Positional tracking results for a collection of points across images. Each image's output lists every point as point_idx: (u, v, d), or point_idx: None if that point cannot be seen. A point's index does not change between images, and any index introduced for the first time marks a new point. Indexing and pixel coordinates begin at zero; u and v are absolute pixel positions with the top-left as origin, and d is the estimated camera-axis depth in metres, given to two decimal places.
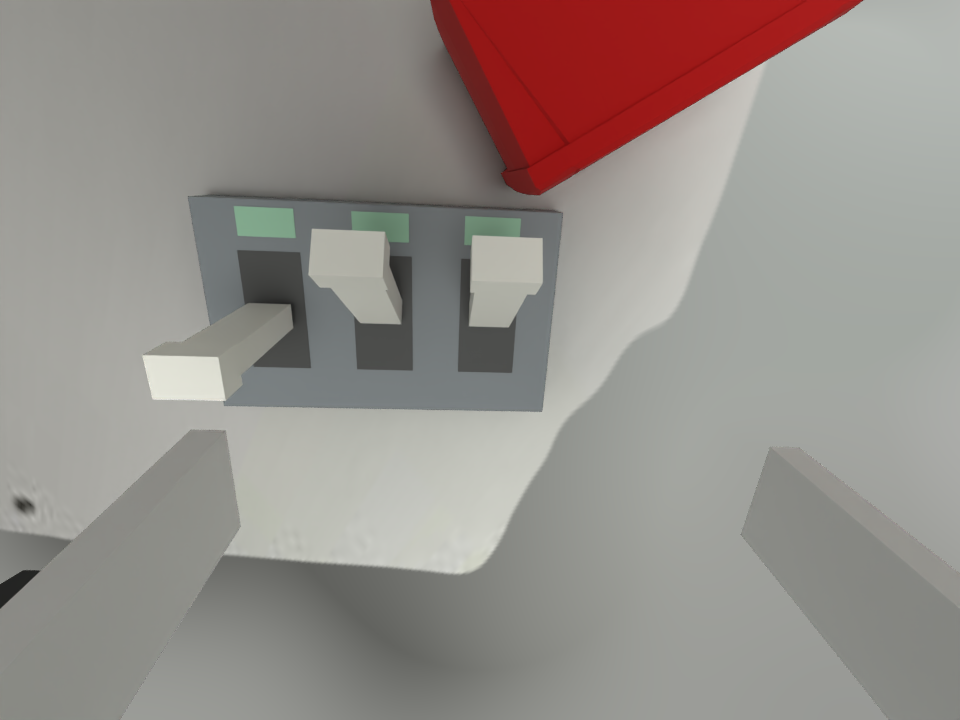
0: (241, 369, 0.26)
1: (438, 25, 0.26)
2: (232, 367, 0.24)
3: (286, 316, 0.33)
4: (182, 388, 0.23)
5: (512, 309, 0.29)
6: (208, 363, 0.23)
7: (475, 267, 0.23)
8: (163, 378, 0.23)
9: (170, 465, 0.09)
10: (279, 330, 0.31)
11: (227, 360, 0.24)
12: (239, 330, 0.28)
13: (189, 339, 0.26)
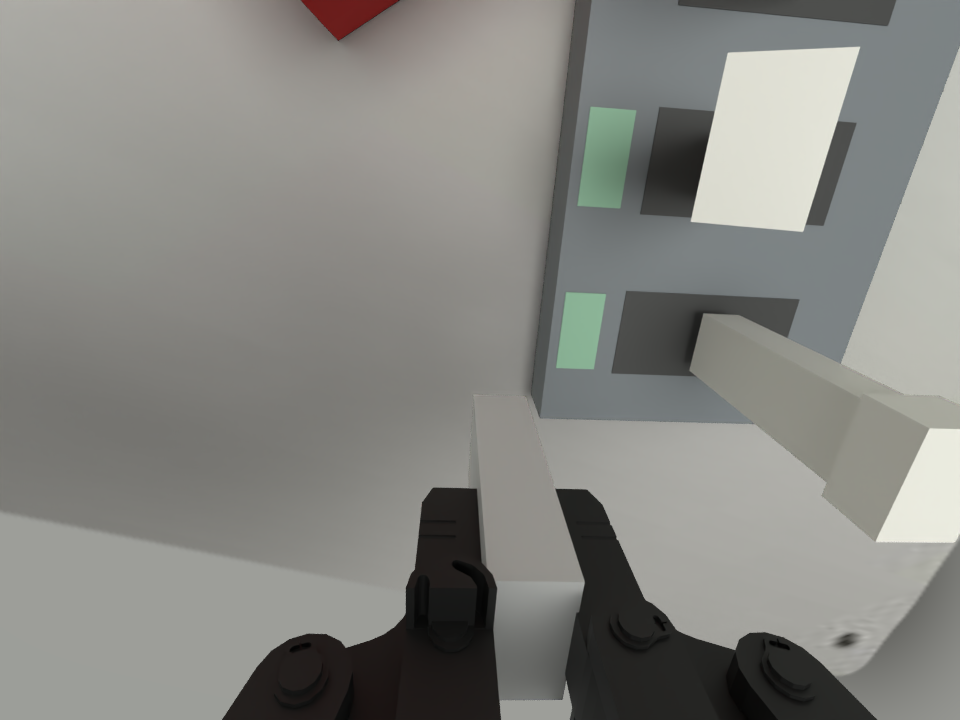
0: (893, 393, 0.14)
1: None
2: (922, 406, 0.13)
3: (727, 320, 0.21)
4: (958, 496, 0.12)
5: None
6: (933, 446, 0.12)
7: None
8: (926, 520, 0.13)
9: (488, 418, 0.12)
10: (761, 332, 0.20)
11: (917, 413, 0.12)
12: (786, 386, 0.17)
13: (805, 460, 0.16)
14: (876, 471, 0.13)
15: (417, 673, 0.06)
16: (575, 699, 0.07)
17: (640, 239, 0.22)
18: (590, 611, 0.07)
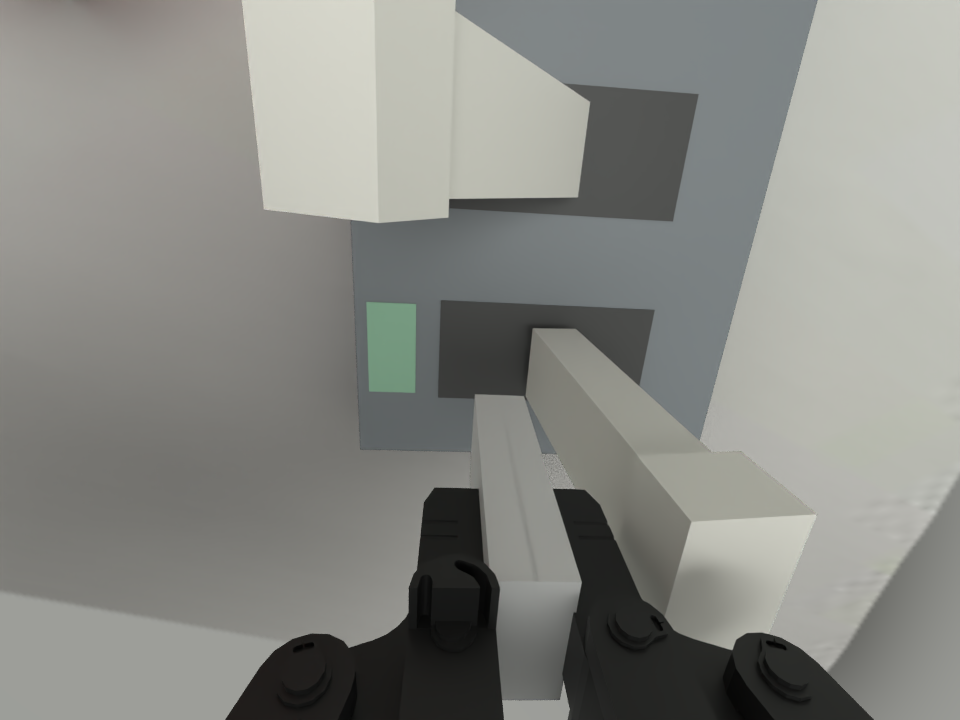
0: (692, 445, 0.11)
1: None
2: (705, 475, 0.09)
3: (555, 337, 0.17)
4: (752, 602, 0.09)
5: None
6: (703, 544, 0.08)
7: None
8: (715, 636, 0.09)
9: (489, 417, 0.12)
10: (584, 352, 0.16)
11: (691, 489, 0.08)
12: (587, 429, 0.13)
13: None
14: (648, 569, 0.09)
15: (420, 673, 0.06)
16: (572, 699, 0.07)
17: (449, 239, 0.18)
18: (587, 611, 0.07)
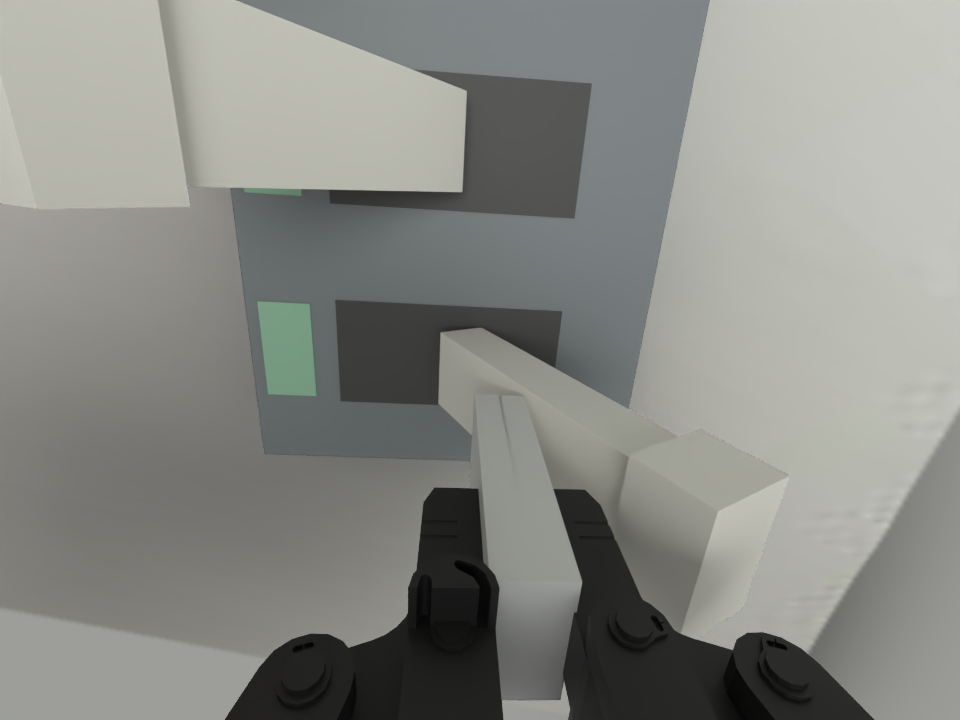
0: (655, 430, 0.11)
1: None
2: (694, 460, 0.10)
3: (468, 338, 0.17)
4: (744, 564, 0.10)
5: None
6: (722, 528, 0.08)
7: None
8: (719, 604, 0.10)
9: (489, 418, 0.12)
10: (506, 352, 0.16)
11: (695, 478, 0.09)
12: (542, 432, 0.13)
13: None
14: (661, 561, 0.09)
15: (419, 673, 0.06)
16: (573, 699, 0.07)
17: (339, 236, 0.17)
18: (588, 611, 0.07)
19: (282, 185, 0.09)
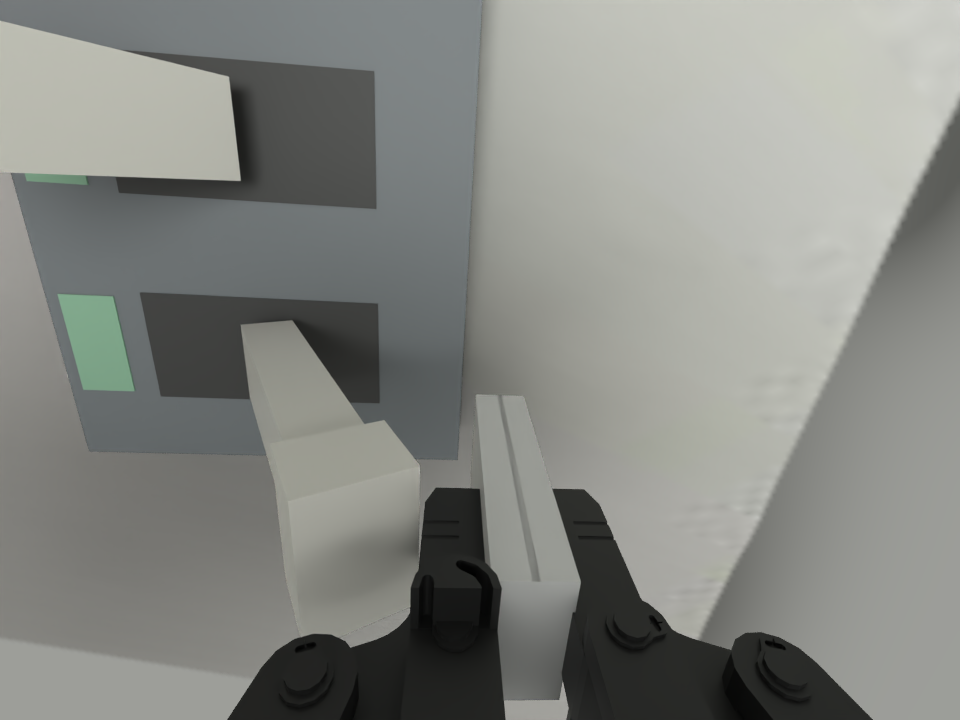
0: (349, 421, 0.11)
1: None
2: (333, 450, 0.09)
3: (262, 331, 0.17)
4: (389, 558, 0.09)
5: None
6: (311, 519, 0.08)
7: None
8: (363, 599, 0.09)
9: (490, 418, 0.12)
10: (287, 344, 0.15)
11: (308, 468, 0.09)
12: (269, 424, 0.12)
13: None
14: (289, 555, 0.09)
15: (421, 673, 0.06)
16: (571, 699, 0.07)
17: (134, 226, 0.17)
18: (586, 611, 0.07)
19: None
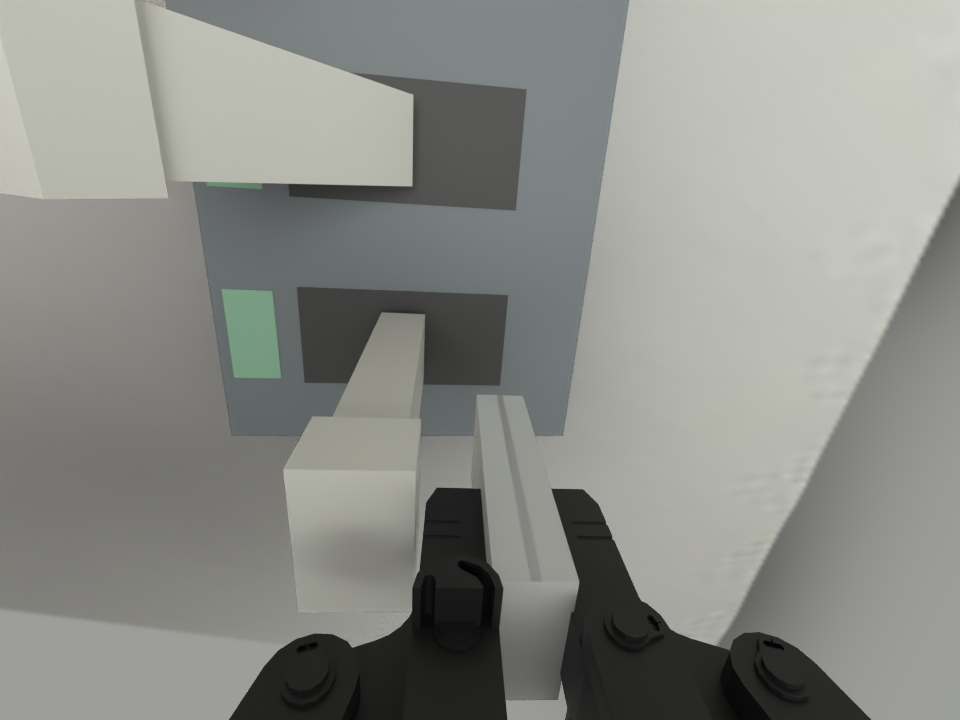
0: (398, 413, 0.11)
1: None
2: (354, 435, 0.10)
3: (393, 320, 0.18)
4: (382, 554, 0.09)
5: None
6: (304, 492, 0.09)
7: None
8: (355, 585, 0.10)
9: (491, 418, 0.12)
10: (404, 334, 0.17)
11: (322, 445, 0.09)
12: None
13: None
14: None
15: (423, 673, 0.06)
16: (570, 700, 0.07)
17: (299, 227, 0.19)
18: (585, 611, 0.07)
19: (246, 180, 0.11)
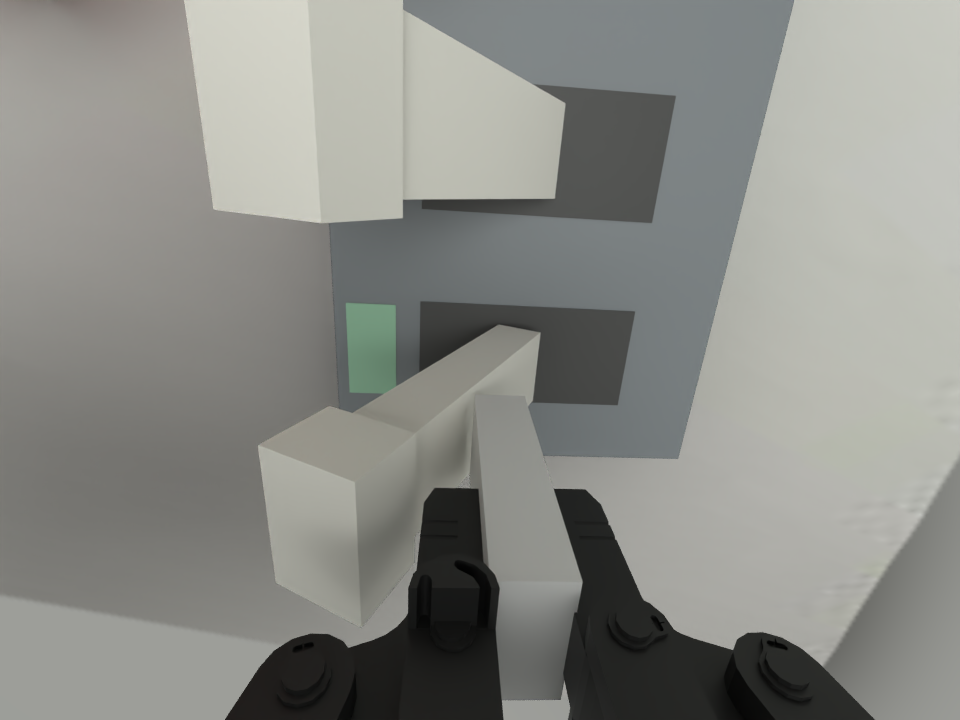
0: (412, 423, 0.11)
1: None
2: (342, 432, 0.10)
3: (502, 333, 0.18)
4: (333, 557, 0.09)
5: None
6: (272, 471, 0.09)
7: None
8: (314, 578, 0.10)
9: (489, 418, 0.12)
10: (498, 348, 0.16)
11: (307, 433, 0.10)
12: None
13: None
14: None
15: (419, 673, 0.06)
16: (573, 699, 0.07)
17: (428, 240, 0.18)
18: (588, 611, 0.07)
19: (449, 196, 0.10)
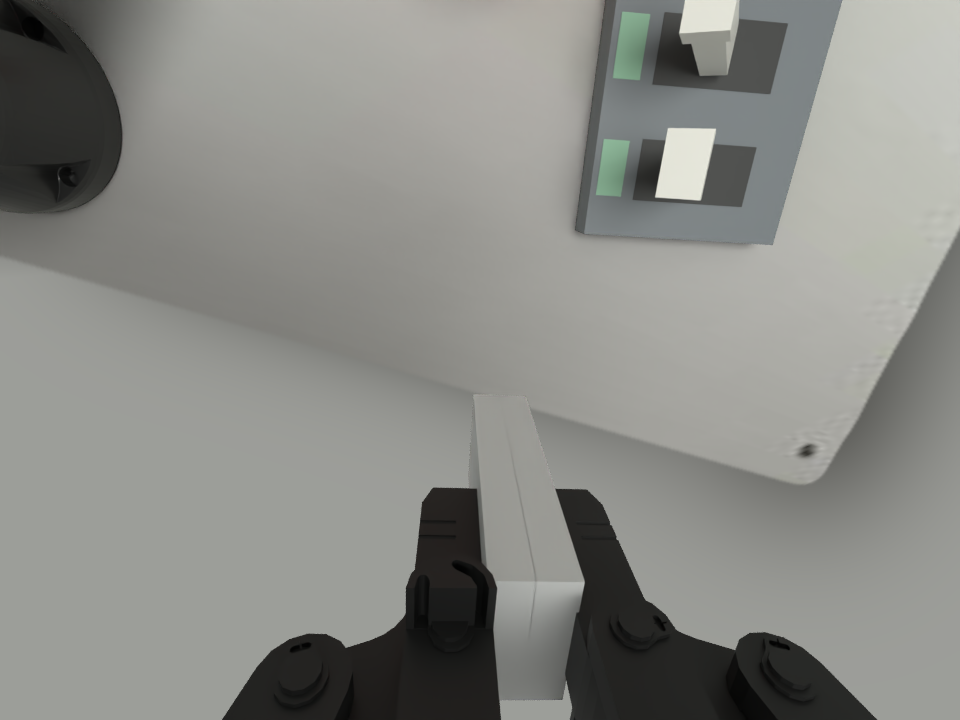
0: None
1: None
2: None
3: None
4: (694, 169, 0.25)
5: None
6: (672, 138, 0.25)
7: None
8: (680, 184, 0.26)
9: (488, 418, 0.12)
10: None
11: None
12: None
13: None
14: None
15: (417, 673, 0.06)
16: (575, 699, 0.07)
17: (652, 102, 0.34)
18: (590, 611, 0.07)
19: (726, 45, 0.26)
